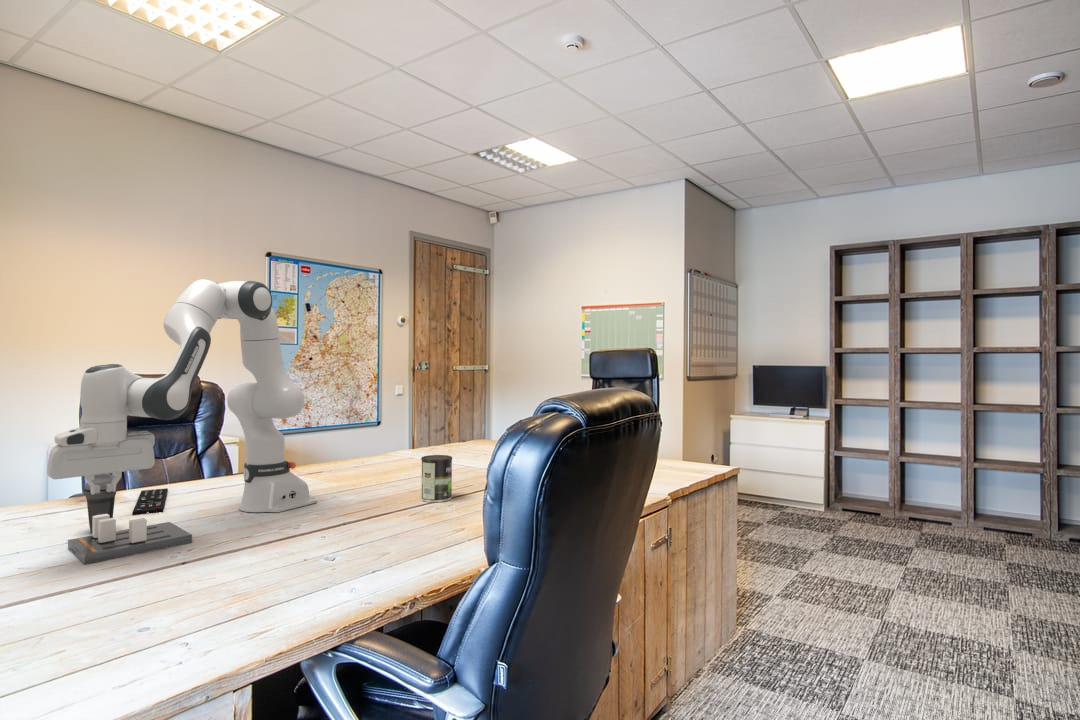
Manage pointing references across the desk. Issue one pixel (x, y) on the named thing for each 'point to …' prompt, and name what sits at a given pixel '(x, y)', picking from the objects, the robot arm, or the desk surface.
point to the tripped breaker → (137, 530)
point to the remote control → (150, 501)
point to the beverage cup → (100, 497)
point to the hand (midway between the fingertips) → (103, 492)
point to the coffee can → (436, 478)
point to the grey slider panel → (128, 543)
